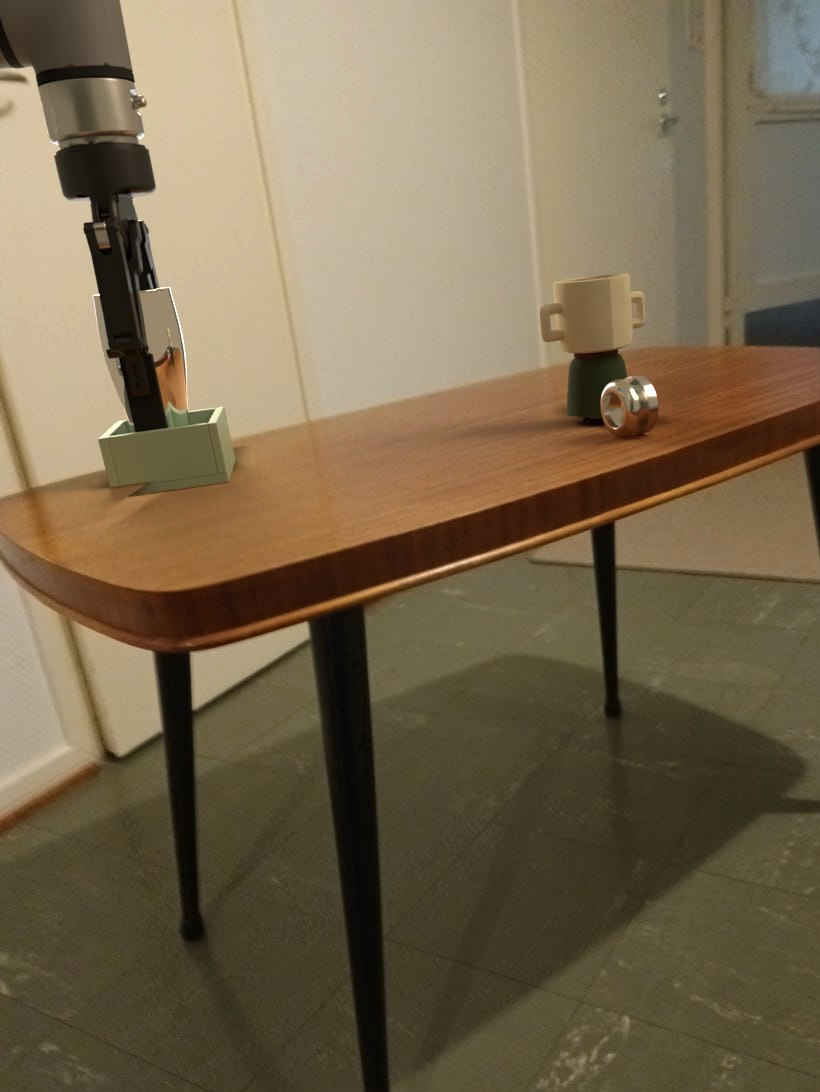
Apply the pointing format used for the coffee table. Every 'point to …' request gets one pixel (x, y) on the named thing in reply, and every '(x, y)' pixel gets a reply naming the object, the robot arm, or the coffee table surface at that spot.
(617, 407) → the metal grooved wheel
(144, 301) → the beer glass
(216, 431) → the green storage bin
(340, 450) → the coffee table surface
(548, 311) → the character mug
